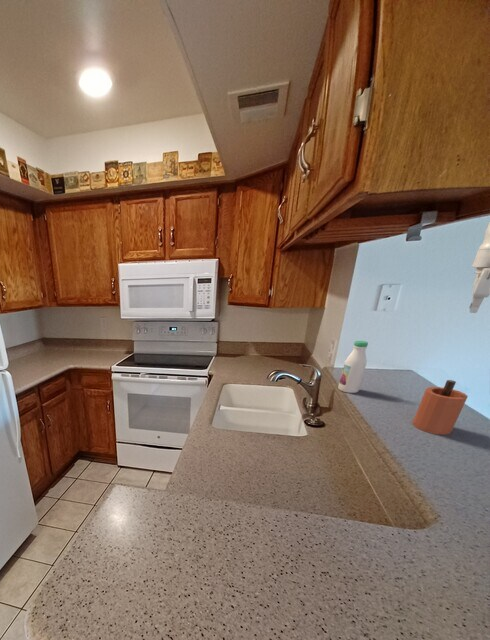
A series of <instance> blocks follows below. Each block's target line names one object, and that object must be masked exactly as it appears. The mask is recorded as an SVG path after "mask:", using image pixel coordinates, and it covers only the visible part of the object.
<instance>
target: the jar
mask: <svg viewBox="0 0 490 640" xmlns="http://www.w3.org/2000/svg"><path fill="white" fill-rule="evenodd" d="M443 389H444V387H443V386H442V387H440V386H430V387H426V388H425V391H424V393H423V396H422V398H421V400H420V403H419V405H418V408H417V410H416V413H415V416H414V418H413V420H412V425H413V427H415V428H416V429H418V430H420V431H422V432H426V433H429V434H433V435H440V436H441V435H443V436H444V435H449V434H451V433H452V432H453V430H454V427H455V425H456V423H457V421H458V418H459V416H460V415H461V412H462V410H463V408H464V406H465V404H466V402H467V399H468V394H466V393H465V392H462V391H460V390H457V389H453V390H452V392H451V395H450V397H447V396H442V395H441V393H442V391H443Z"/></svg>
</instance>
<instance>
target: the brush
mask: <svg viewBox="0 0 490 640" xmlns="http://www.w3.org/2000/svg"><path fill="white" fill-rule="evenodd" d="M456 384H457V381H455V380H453V379H447V380H446V382H445V384H444V386H443V388H444V389H443V391H442V393H441V395H442V396H447V397H450V395H451V392H452V390H454V388H455V386H456Z"/></svg>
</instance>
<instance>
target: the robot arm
mask: <svg viewBox="0 0 490 640" xmlns="http://www.w3.org/2000/svg"><path fill="white" fill-rule="evenodd" d="M471 268H475V270H474V274H475V278H474V282H473V285H472V290H471V293H472V299H471V303H470V305H469V313H471V314H472V313H473V314H476V313H478V311H479V309H480V307H481V305H482V304H483V301H484V299H485V298H489V296H490V221H489V222H488V224H487V226H486V229H485V232H484V238H483V241H482V243H481V244H480V246H479V247H478V249H477V252H476V255H475V257H474V260H473V262H472V265H471Z"/></svg>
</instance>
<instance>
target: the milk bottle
mask: <svg viewBox="0 0 490 640" xmlns="http://www.w3.org/2000/svg"><path fill="white" fill-rule="evenodd" d="M368 346H369V342H368V341H365V340H355V341H354V343H353V349H352V351H351V352H350V354H349V355H348V356H347V357H346V359H345V361H344V365H343V368H342V372H341V375H340V380H339V382H338V387H337V388H338V390H339V391H341V392H344V393H350V394H356V393H358V392H359V391H360V388H361V385H362V382H363V379H364V378H363V377H364V374H365V371H366V366H367V356H366V349H368Z"/></svg>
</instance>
